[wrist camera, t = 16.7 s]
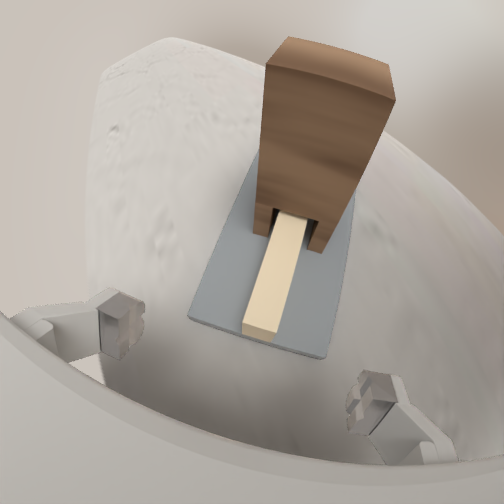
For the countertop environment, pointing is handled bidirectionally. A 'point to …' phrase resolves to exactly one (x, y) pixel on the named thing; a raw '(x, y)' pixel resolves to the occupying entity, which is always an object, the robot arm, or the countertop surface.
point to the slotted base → (246, 268)
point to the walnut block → (317, 132)
